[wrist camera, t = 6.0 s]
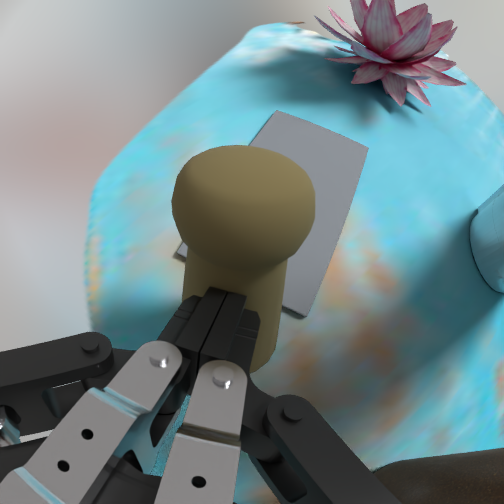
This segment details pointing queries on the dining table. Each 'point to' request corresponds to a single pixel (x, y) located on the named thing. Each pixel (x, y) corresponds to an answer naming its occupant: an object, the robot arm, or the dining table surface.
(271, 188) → the cork
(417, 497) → the plant pot
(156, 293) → the dining table surface
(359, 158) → the mat
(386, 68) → the decorative flower
